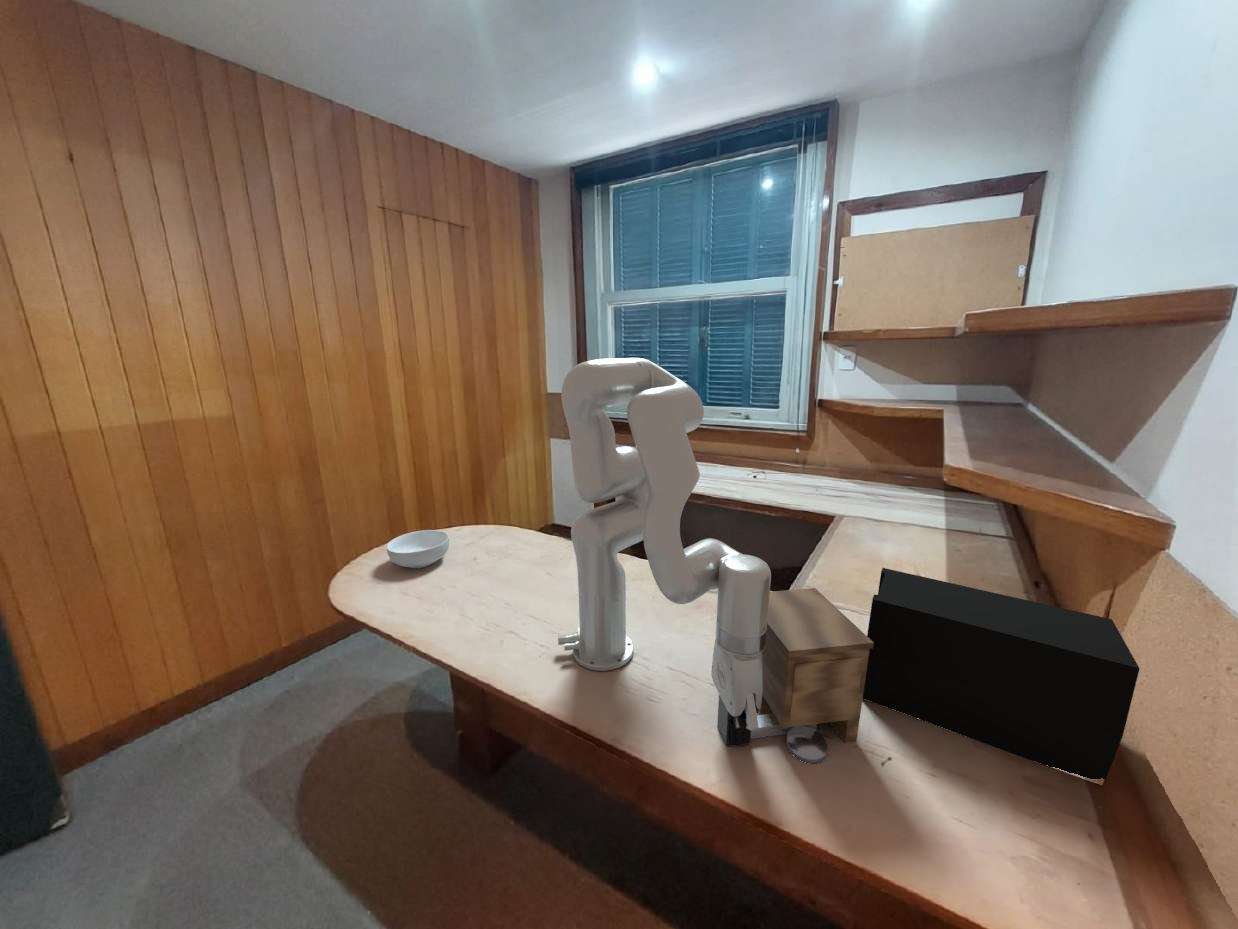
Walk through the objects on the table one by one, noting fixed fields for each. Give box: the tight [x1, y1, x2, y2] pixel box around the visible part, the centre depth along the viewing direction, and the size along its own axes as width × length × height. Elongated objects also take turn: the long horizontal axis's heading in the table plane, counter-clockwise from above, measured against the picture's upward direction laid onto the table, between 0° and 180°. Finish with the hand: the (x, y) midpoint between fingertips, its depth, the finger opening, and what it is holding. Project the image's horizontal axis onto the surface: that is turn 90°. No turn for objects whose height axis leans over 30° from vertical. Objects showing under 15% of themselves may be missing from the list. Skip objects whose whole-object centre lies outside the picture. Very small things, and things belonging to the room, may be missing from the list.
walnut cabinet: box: [762, 587, 874, 744], centre depth 81 cm, size 14×17×18 cm
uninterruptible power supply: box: [862, 567, 1140, 780], centre depth 80 cm, size 16×34×20 cm, turn 56°
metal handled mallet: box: [716, 694, 818, 747], centre depth 78 cm, size 16×4×7 cm, turn 98°
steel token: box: [785, 726, 828, 765], centre depth 76 cm, size 6×6×2 cm
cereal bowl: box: [386, 529, 450, 569], centre depth 140 cm, size 17×17×7 cm
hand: (734, 731), depth 78 cm, fingers closed on metal handled mallet, 4 cm apart
